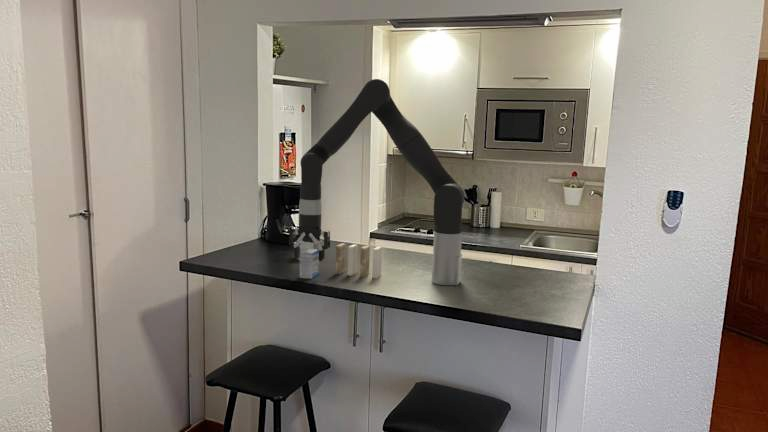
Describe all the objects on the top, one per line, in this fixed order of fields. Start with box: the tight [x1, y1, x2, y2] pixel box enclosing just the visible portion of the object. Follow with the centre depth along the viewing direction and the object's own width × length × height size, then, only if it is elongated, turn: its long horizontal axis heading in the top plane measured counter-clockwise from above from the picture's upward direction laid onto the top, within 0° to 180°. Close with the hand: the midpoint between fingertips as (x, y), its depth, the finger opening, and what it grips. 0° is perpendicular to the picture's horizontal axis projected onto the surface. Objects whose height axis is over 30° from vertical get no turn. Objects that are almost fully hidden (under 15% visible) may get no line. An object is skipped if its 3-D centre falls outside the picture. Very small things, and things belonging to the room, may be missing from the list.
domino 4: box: [371, 246, 383, 279], centre depth 202 cm, size 2×5×10 cm, turn 163°
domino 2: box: [347, 244, 359, 277], centre depth 204 cm, size 2×5×10 cm, turn 163°
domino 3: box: [359, 245, 371, 278], centre depth 203 cm, size 2×5×10 cm, turn 163°
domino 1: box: [335, 242, 347, 275], centre depth 206 cm, size 2×5×10 cm, turn 163°
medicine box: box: [299, 248, 320, 280], centre depth 200 cm, size 8×4×9 cm, turn 168°
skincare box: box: [297, 241, 314, 261], centre depth 227 cm, size 6×6×7 cm
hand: (309, 259), depth 200 cm, fingers open, 8 cm apart
